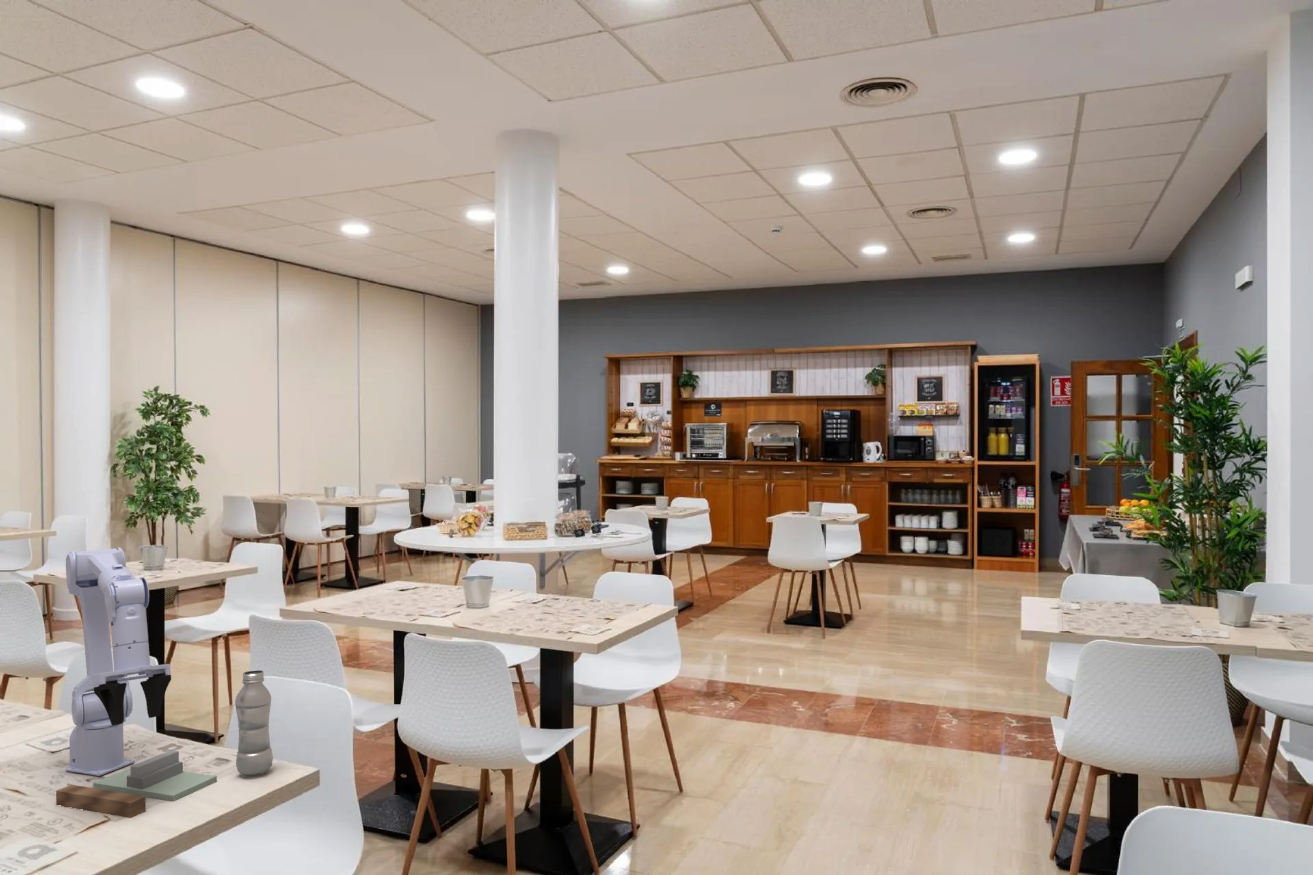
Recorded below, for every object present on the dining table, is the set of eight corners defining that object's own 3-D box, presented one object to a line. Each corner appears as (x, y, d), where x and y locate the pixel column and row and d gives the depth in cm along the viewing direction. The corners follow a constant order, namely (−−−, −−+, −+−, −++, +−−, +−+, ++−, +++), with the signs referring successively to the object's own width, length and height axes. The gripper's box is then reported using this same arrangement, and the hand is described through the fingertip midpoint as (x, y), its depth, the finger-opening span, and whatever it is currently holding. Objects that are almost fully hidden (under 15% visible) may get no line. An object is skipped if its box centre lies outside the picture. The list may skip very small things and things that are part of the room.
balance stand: (93, 787, 171) (92, 761, 171) (139, 769, 181) (138, 744, 181) (173, 800, 165) (172, 773, 165) (216, 781, 174) (216, 755, 174)
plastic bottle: (271, 777, 176) (269, 674, 176) (233, 781, 174) (231, 677, 174) (275, 765, 182) (273, 666, 182) (238, 769, 180) (237, 669, 180)
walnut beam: (56, 807, 163) (56, 790, 163) (71, 800, 166) (71, 784, 166) (130, 819, 158) (130, 802, 158) (145, 813, 160) (145, 796, 160)
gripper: (111, 644, 157) (116, 724, 155) (180, 637, 171) (186, 710, 168) (81, 651, 159) (86, 730, 157) (152, 643, 173) (158, 716, 170)
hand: (136, 720), depth 163 cm, fingers open, 7 cm apart
